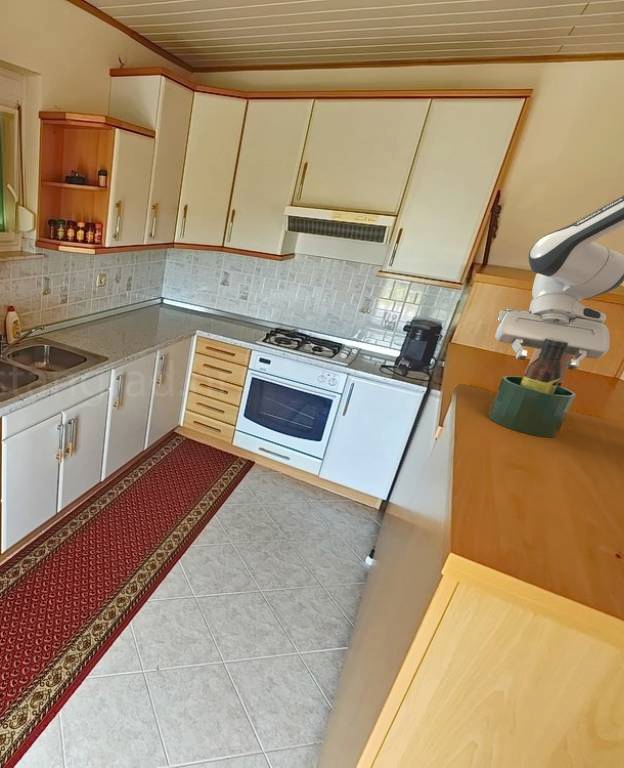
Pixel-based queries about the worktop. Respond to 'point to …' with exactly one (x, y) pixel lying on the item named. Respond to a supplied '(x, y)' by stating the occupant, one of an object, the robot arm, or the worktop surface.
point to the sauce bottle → (545, 367)
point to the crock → (530, 408)
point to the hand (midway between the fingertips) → (546, 363)
